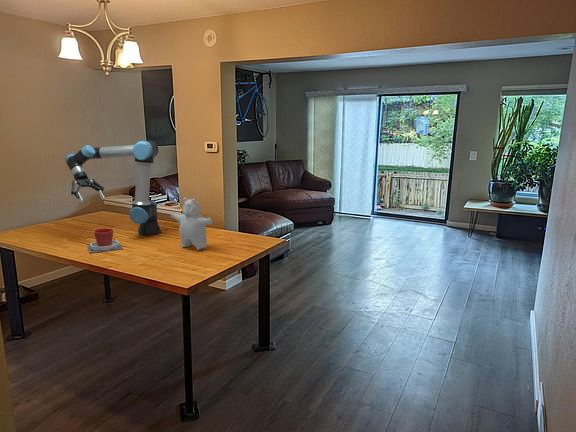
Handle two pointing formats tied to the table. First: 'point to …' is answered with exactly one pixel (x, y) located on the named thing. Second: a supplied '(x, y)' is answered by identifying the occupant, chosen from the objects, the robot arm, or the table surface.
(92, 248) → the grey octagonal tray
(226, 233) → the table surface
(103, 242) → the flower pot
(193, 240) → the bear
